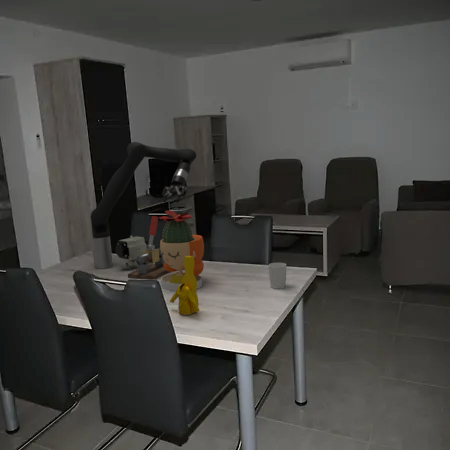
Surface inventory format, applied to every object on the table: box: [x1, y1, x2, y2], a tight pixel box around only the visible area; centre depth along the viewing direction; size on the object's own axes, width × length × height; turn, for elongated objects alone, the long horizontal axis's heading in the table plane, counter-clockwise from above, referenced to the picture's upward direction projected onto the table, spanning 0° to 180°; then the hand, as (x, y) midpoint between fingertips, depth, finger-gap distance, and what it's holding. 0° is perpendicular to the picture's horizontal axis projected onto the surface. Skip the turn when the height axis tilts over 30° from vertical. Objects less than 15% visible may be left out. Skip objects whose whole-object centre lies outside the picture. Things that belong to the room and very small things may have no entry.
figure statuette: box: [169, 256, 200, 316], centre depth 171 cm, size 18×8×22 cm, turn 44°
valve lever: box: [147, 215, 159, 249], centre depth 232 cm, size 2×2×17 cm
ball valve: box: [114, 235, 149, 270], centre depth 245 cm, size 18×8×18 cm, turn 139°
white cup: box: [268, 262, 287, 290], centre depth 198 cm, size 8×8×10 cm
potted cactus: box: [158, 210, 205, 292], centre depth 209 cm, size 22×22×35 cm
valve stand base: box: [127, 263, 172, 280], centre depth 232 cm, size 16×20×2 cm
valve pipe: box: [135, 244, 165, 275], centre depth 231 cm, size 6×20×13 cm, turn 155°
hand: (170, 201), depth 246 cm, fingers open, 8 cm apart
